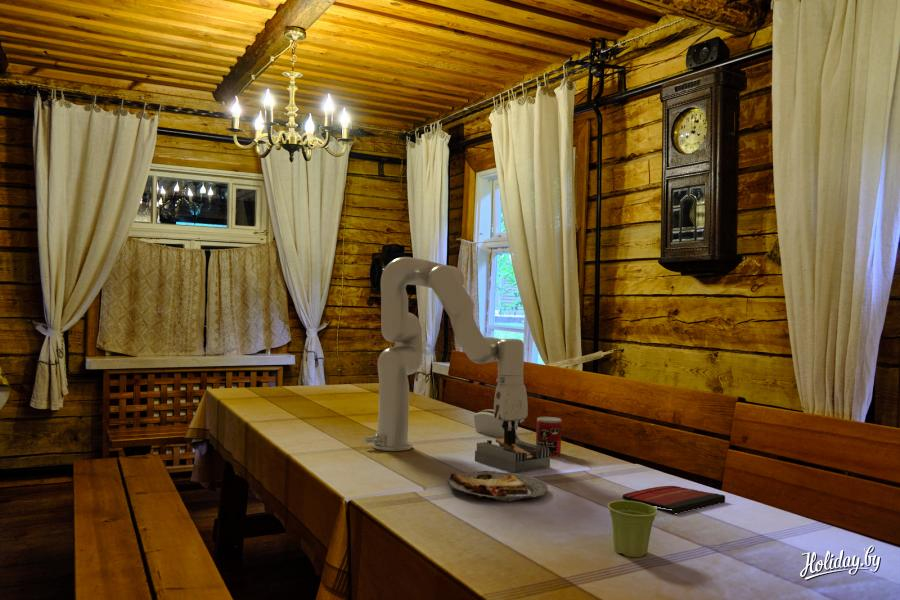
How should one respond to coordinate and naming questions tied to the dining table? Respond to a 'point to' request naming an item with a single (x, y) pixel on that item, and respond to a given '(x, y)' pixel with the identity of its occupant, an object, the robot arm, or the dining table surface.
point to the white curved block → (488, 424)
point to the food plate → (497, 485)
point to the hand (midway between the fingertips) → (509, 443)
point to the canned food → (549, 434)
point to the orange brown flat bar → (510, 446)
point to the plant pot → (631, 526)
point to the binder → (675, 498)
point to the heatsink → (513, 456)
